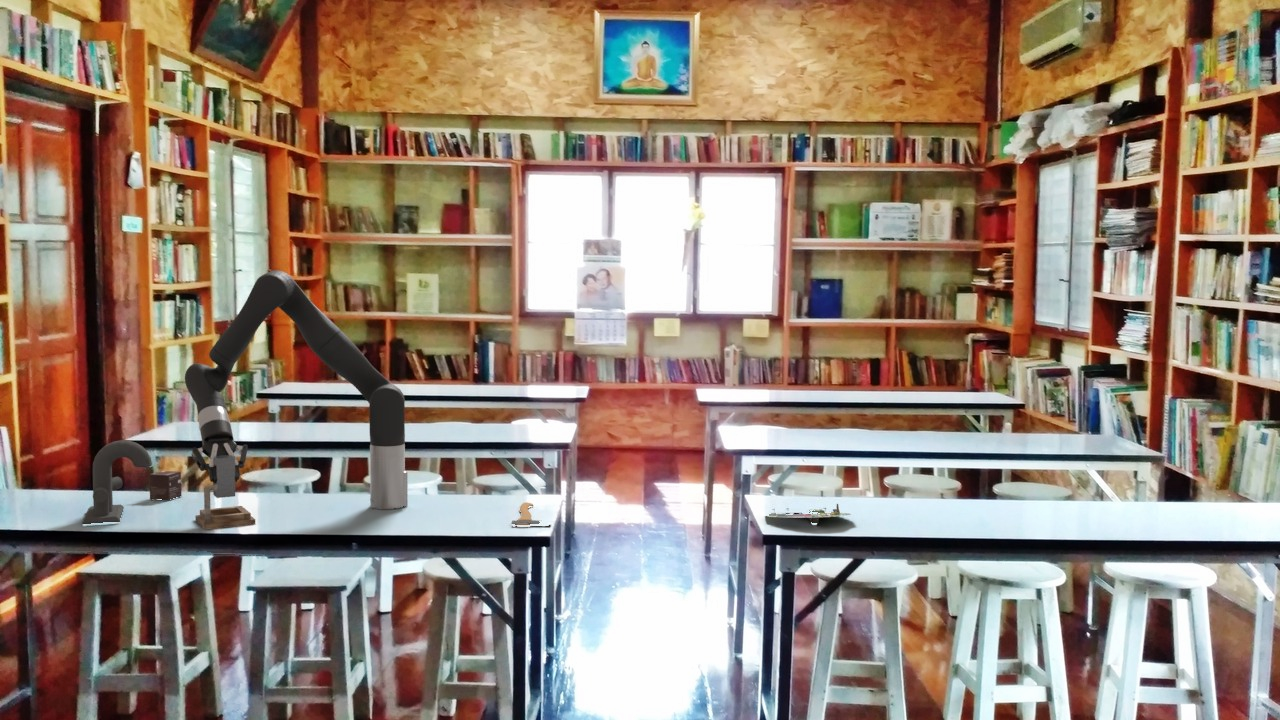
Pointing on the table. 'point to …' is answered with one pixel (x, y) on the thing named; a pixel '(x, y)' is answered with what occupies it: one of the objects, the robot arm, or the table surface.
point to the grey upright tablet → (224, 476)
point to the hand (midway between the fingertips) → (225, 480)
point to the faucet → (111, 479)
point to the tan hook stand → (525, 516)
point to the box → (165, 485)
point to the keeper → (222, 514)
